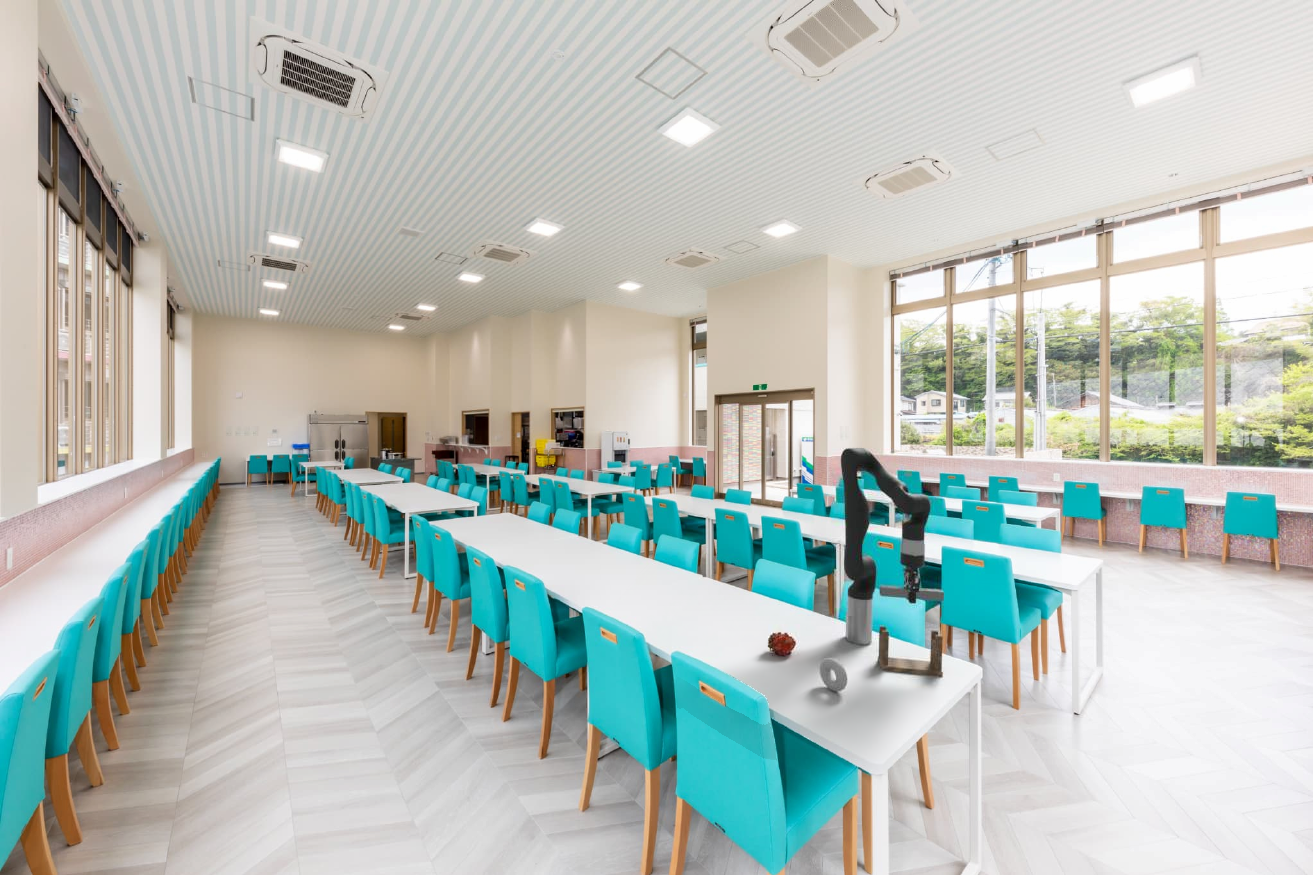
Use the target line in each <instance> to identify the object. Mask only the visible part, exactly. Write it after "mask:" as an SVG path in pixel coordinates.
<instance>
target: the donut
mask: <svg viewBox="0 0 1313 875" xmlns="http://www.w3.org/2000/svg"><path fill="white" fill-rule="evenodd" d="M831 670H832V671H833V673H834V675H835V678H834V677H833V675H832V672H831ZM819 675H820V678H821V681H822V682H823V684H824V685H825V686H826V688H828V689H829V690H830V691H832V692H833V691H834V692H836V693H837V692H842V691H844V690H845V689H846V687H847V684H848V675H847V671H846V668H845V667H844V665H843V664H842V663H841V662H840V661H839V660H838V659H836V658H832V657H827V658H824V659H823V660H821V664H820V665H819Z"/></svg>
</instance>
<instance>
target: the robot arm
mask: <svg viewBox="0 0 1313 875" xmlns="http://www.w3.org/2000/svg"><path fill="white" fill-rule="evenodd" d="M840 467H841V475H842V482H843V483H842V484H843V497H844V498H843V499H844V524H845V525H844V526H845V527H844V528H845V531H844V532H845V536H844V538H845V546H844V557H843V558H844V559H843V561H844V562H843V567H844V573H845V575H846V576H847V578H848V579H849V580H851V581H853V582H852V584H851V585H850V586H849V587H848V589H847V602H846V603H847V605H846V606H847V609H846V610H847V611H846V613H845V638H846V641H847V642H850V643H853V644H855V645H870V644H871V643H872V638H873V606H874V605H873V604H874V603H873V600H874V599H873V598H874V593H875V591H876V584H877V565H876V562H875V559H874V558H872V556H870V555H868V554H863V544H864V541H865V539H866V538H865V537H866V535H867V532H868V531H869V526H870V524H871V523H870V521H871V516H870V515H871V513H870V510H871V509H870V505H869V501H868V500H867V498H866V496H865V494H864V493H863V491H862V489H861V487H860V485H859V481H858V480H859V479H858V472H865V473H868V474H869V475H871V476H873V478H874V480H875V483H876V486H877V488H878V489H879V490H880V492H882V493H883V494H884V495H886V496H887V497H888V498H889V499H891V501H892V503H893V504H894V506H895V507H896V509H897V510H898V511H899V512H901V513H902V514H904V515H906V516H910V518H909V519H908V520H906V521H904V522H903V523H902V528H901V542H900V561H899V562H900V564H901V566H904V567H903V568H902V571H903V572H902V573H903V580H904V581H903V585H904V587H909V598H905V599H906V600H907V601H908V602H909V604H917V599H916V593H917V592H918V593H919V588H920V587H921V583H922V581H921V580H922V578H921V577H920V571H919V568H920V569H922V568H923V567H925V555H926V554H925V553H926V552H925V551H926V544H925V533H926V532H925V528H926V525H927V523H928V520H929V516H930V512H931V509H932V508H931V507H932V506H931V502H930V499H929V497H928V496H927V495H925V494H923V493H922V494H921V493H915V494H914V493H913V494H912V493H909V488H908V486H907V485H906V484H905V482H903V481H901V480H900V479H898V478H897V477H896V476H895V475H893V474H892V473H891V472H890V471H889V470H888V469H887V468H886V467H885V466H884V465H883V464H882V463H881V461H879V459H878V458H877V456H875V455H874V454H873V452H871V451H870V450H869V449H868V448H865V447H863V448H862V447H856V448H855V447H852V448H851V447H849V448H845V449H844V450H843V451H842V453H841V455H840Z"/></svg>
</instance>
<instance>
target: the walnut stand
mask: <svg viewBox="0 0 1313 875" xmlns="http://www.w3.org/2000/svg"><path fill="white" fill-rule="evenodd" d="M878 631H879V632H878V633H879V634H878V656H877V662H878V664H879V666H880V668H881V670H882V671H886V672H894V673H895V672H897V673H905V674H906V673H907V674H915V675H925V676H934V677H943V676H944V675H943V674H944V671H943V670H942V669H943V667H942V666H943V638H944V637H943V635H941V634H939V630H934V629H932V630H930V656H929V657H930V658H929V660H919V659H909V658H899V657H889V644H890V642H889V640H890V631H889V630H887V626H886V625H879V630H878Z"/></svg>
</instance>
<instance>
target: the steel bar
mask: <svg viewBox="0 0 1313 875" xmlns="http://www.w3.org/2000/svg"><path fill="white" fill-rule="evenodd" d="M879 595H880V597H888V598H889V597H890V598H900V599H906V598H909V587H905V586H897V585H886V584H884V585H883V584H879ZM916 600H926V601H937V602H944V601H945V592H944V591H943V590H942V589H937V588H923V587H921V588H919V593H918V592H917V593H916Z"/></svg>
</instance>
